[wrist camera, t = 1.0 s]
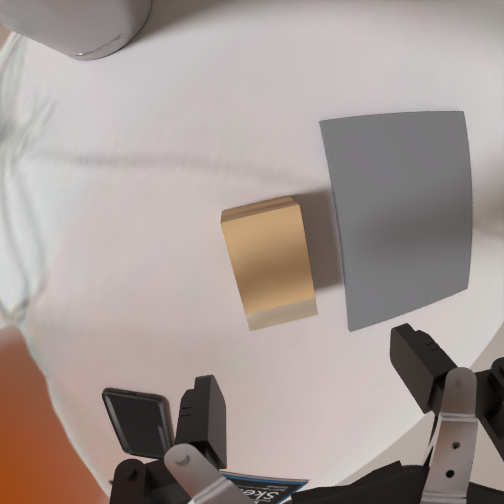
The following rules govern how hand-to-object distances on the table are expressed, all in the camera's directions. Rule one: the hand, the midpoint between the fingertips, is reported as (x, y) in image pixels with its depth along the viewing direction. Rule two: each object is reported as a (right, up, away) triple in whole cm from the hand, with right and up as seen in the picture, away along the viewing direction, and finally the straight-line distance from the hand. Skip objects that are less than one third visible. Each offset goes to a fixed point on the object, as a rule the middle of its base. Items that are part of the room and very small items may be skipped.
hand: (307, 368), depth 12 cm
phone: (-17, -18, +21) cm, 33 cm away
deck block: (-1, +5, +13) cm, 14 cm away
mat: (+13, +8, +13) cm, 20 cm away
